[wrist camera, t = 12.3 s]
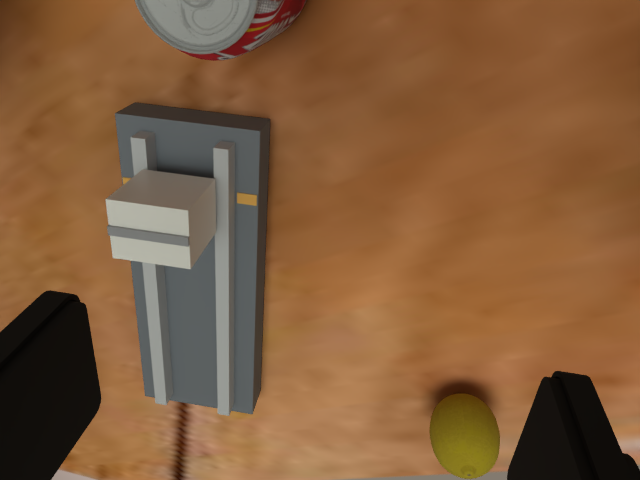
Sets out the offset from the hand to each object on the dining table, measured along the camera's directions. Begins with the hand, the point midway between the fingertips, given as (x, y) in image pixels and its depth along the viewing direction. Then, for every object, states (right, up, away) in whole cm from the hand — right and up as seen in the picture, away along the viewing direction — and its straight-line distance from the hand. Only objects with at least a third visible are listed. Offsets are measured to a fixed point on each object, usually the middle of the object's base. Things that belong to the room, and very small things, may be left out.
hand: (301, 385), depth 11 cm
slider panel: (-9, +1, +33) cm, 34 cm away
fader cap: (-9, +6, +27) cm, 29 cm away
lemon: (+13, -11, +36) cm, 40 cm away
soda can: (-3, +20, +23) cm, 30 cm away
